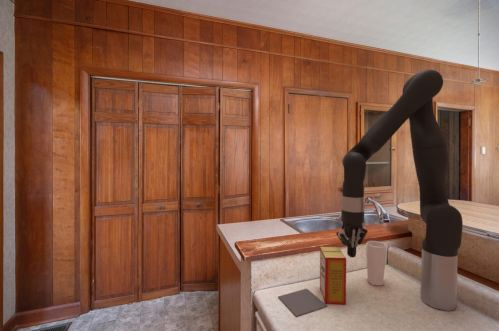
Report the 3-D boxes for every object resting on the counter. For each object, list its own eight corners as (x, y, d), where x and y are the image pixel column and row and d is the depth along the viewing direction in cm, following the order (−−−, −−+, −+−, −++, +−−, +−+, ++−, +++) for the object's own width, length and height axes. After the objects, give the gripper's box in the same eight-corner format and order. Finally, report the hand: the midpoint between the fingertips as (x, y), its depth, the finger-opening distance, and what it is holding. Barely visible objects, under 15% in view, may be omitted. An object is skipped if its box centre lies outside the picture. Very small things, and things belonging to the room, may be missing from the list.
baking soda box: (345, 305, 80) (346, 257, 79) (325, 304, 81) (325, 256, 80) (338, 288, 89) (338, 245, 88) (319, 288, 90) (320, 245, 89)
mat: (306, 289, 89) (306, 288, 89) (327, 306, 79) (327, 305, 79) (278, 297, 85) (277, 296, 85) (296, 317, 74) (296, 315, 74)
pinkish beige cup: (389, 287, 90) (390, 247, 89) (370, 287, 90) (371, 247, 89) (379, 277, 97) (380, 240, 96) (362, 277, 97) (363, 240, 96)
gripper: (346, 213, 81) (345, 264, 82) (375, 209, 86) (373, 257, 87) (330, 208, 88) (329, 255, 89) (358, 204, 93) (357, 249, 94)
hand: (351, 256), depth 88 cm, fingers closed
